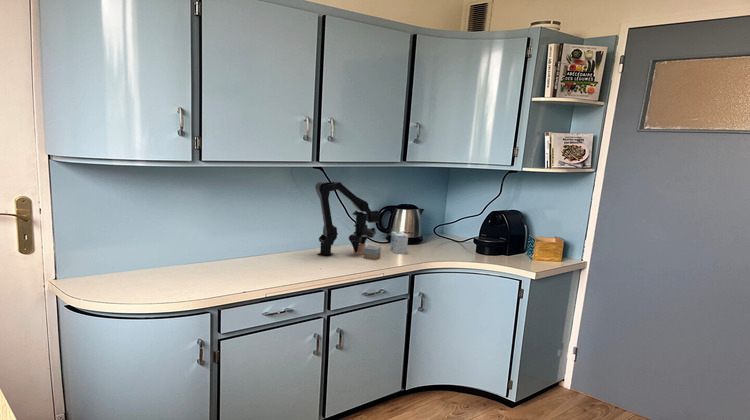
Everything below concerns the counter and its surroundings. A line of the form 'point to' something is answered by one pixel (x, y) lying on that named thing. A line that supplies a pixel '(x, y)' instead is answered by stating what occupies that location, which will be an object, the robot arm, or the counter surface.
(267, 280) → the counter surface
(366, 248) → the slate grey block
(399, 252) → the light bulb box
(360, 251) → the terracotta cube
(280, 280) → the counter surface
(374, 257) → the walnut block
